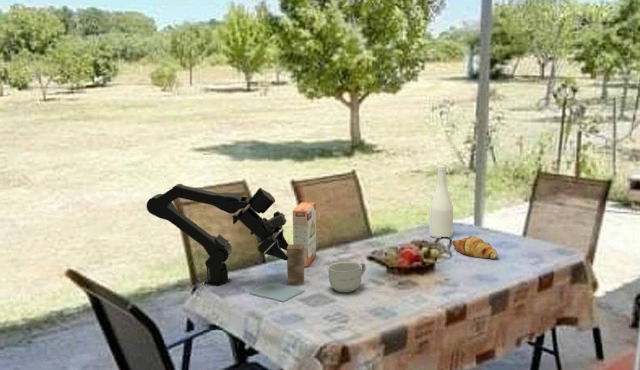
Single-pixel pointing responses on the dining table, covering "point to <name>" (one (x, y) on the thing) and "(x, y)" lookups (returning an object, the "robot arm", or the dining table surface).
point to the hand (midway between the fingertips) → (289, 255)
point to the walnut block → (295, 264)
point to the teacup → (346, 275)
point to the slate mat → (277, 292)
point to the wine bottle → (441, 208)
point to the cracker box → (305, 229)
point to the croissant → (475, 247)
